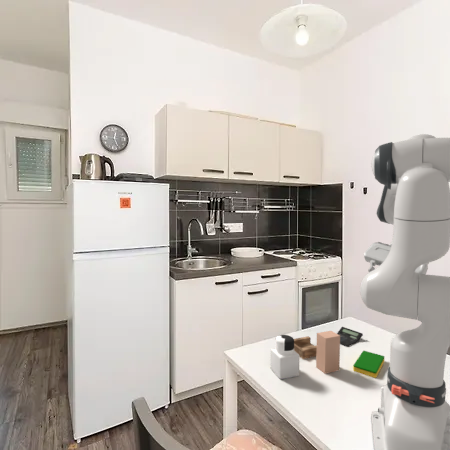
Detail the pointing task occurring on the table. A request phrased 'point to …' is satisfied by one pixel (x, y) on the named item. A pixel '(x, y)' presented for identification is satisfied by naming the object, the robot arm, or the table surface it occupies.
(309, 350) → the tray
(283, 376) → the medicine bottle
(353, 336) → the calculator
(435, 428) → the robot arm
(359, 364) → the dish sponge
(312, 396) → the table surface
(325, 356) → the clay block
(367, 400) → the table surface
